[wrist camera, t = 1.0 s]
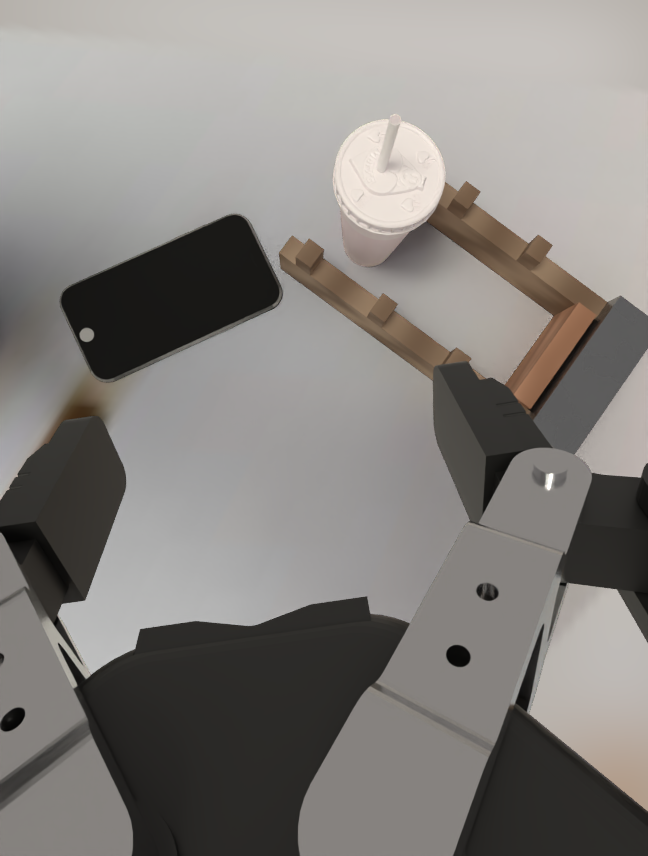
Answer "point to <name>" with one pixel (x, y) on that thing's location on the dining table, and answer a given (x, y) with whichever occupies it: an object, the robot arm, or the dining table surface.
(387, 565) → the dining table surface
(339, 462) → the dining table surface
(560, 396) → the block
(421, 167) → the smoothie
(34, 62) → the dining table surface
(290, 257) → the brown pegged rack
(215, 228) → the smartphone
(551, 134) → the dining table surface
